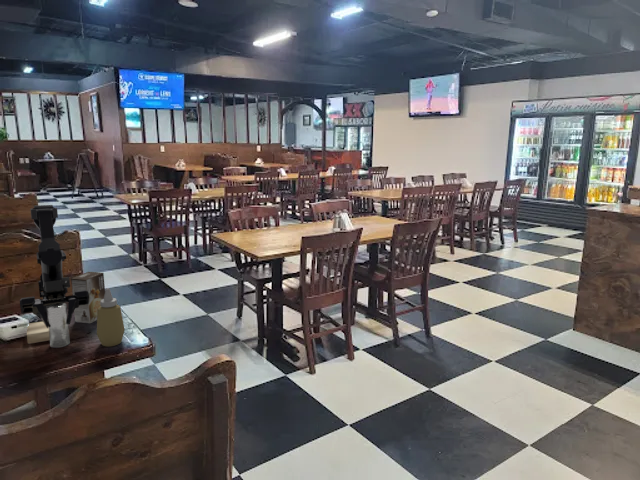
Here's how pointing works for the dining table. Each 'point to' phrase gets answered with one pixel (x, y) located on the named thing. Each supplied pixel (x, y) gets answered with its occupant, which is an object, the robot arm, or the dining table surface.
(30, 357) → the dining table surface
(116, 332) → the squeeze bottle
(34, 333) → the block
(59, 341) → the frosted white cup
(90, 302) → the coffee box
